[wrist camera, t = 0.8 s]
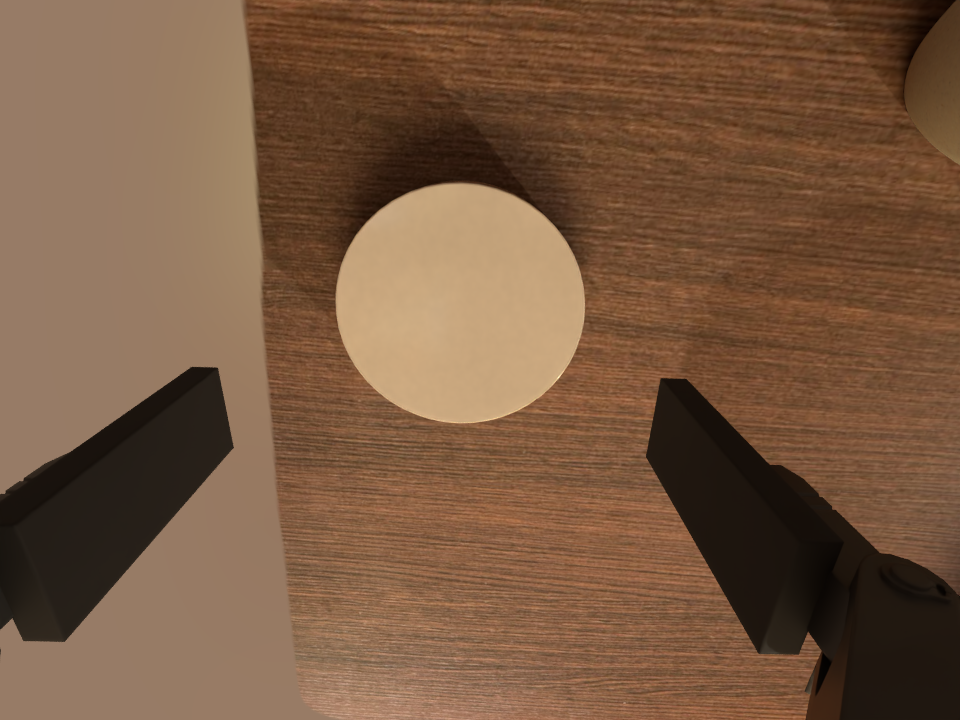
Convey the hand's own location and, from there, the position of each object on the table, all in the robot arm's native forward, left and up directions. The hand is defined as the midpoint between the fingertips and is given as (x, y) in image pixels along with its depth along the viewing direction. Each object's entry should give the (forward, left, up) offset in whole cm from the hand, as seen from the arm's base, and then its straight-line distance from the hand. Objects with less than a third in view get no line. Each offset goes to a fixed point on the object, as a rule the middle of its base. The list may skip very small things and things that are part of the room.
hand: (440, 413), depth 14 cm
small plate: (0, 0, -12) cm, 12 cm away
